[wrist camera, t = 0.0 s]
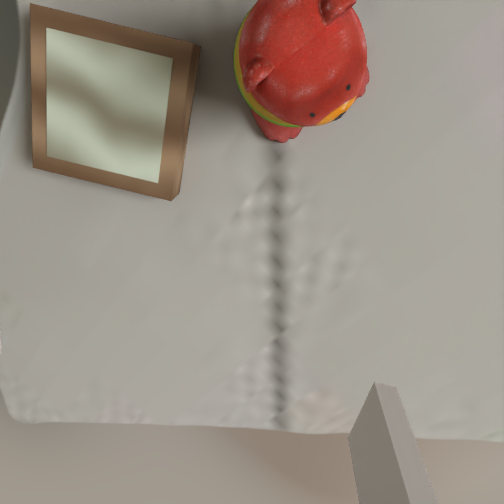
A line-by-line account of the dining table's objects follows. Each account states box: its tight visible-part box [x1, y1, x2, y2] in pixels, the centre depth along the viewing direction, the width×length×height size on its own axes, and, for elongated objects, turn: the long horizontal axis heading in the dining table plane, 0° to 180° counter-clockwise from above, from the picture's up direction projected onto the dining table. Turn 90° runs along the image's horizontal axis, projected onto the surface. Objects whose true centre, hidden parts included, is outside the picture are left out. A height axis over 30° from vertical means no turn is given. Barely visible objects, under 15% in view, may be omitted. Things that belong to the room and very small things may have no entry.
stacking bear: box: [233, 0, 369, 143], centre depth 26 cm, size 11×10×18 cm
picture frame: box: [30, 3, 201, 201], centre depth 35 cm, size 14×14×3 cm
